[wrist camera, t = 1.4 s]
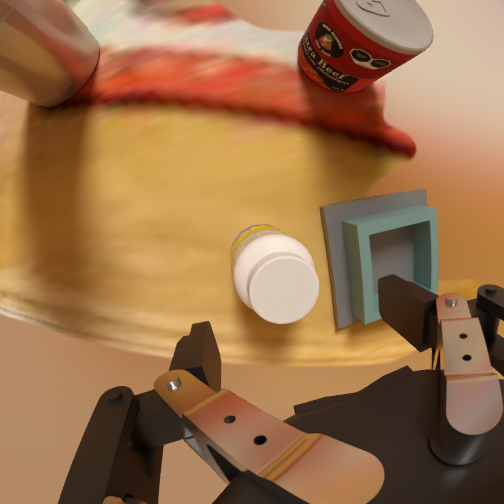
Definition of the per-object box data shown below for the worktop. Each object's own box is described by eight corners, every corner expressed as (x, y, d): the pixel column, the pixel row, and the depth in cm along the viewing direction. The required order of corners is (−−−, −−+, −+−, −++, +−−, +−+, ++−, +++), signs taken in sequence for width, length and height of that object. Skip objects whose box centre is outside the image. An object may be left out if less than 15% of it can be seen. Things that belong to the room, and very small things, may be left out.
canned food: (280, 44, 20) (311, -26, 10) (342, 26, 20) (390, -29, 9) (323, 107, 22) (384, 60, 11) (382, 83, 22) (449, 46, 11)
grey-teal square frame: (319, 206, 24) (337, 209, 20) (419, 188, 24) (444, 189, 21) (335, 324, 27) (350, 343, 23) (424, 292, 27) (445, 304, 23)
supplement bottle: (288, 283, 25) (323, 334, 16) (229, 282, 25) (232, 336, 15) (293, 224, 24) (336, 245, 14) (231, 221, 23) (236, 241, 14)
